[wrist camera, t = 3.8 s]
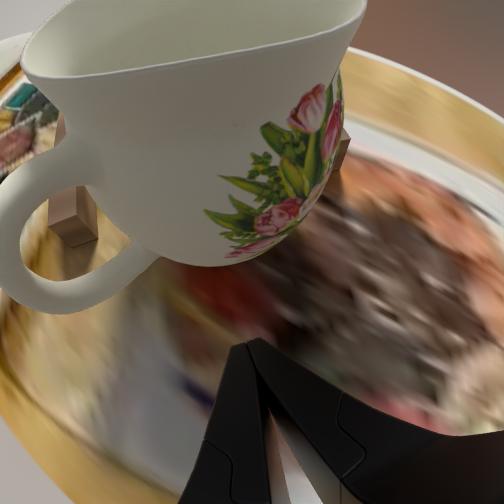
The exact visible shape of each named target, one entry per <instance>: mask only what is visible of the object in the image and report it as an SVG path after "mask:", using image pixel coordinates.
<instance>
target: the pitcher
mask: <svg viewBox="0 0 504 504" xmlns="http://www.w3.org/2000/svg"><path fill="white" fill-rule="evenodd" d="M366 6H367V0H71V1H70V2H68V3H67V4H65V5H64V6H62V7H61V8H60V9H58V10H57V11H56V12H54V13H53V14H52V15H51V16H50V17H49V18H47V19H46V20H45V21H44V22H43V23H42V24H41V25H40V26H39V27H38V28H37V29H36V30H35V32H34V33H33V34H32V35H31V37H30V38H29V39H28V41H27V42H26V44H25V46H24V48H23V50H22V53H21V56H20V65H21V68H22V70H23V72H24V74H25V75H26V77H27V78H28V80H29V81H30V82H31V83H32V84H33V85H34V86H36V87H37V88H38V89H39V90H40V91H41V92H42V93H43V94H44V95H45V96H46V97H47V98H48V99H49V100H50V101H51V102H52V104H53V105H54V106H55V107H56V108H57V109H58V110H59V111H60V112H61V113H62V115H63V116H64V119H65V128H66V135H65V137H64V138H63V139H62V140H61V142H60V143H59V144H58V145H56V146H55V147H54V148H52V149H50V150H48V151H46V152H44V153H41V154H39V155H37V156H35V157H33V158H32V159H30V160H28V161H27V162H25V163H24V164H22V165H21V166H19V167H18V168H17V169H16V170H15V171H14V172H12V173H11V174H10V175H9V176H8V177H7V178H6V179H5V180H4V181H3V183H2V184H1V185H0V286H1V288H2V289H3V291H4V292H5V293H7V294H8V295H9V296H10V297H12V298H13V299H14V300H15V301H17V302H18V303H20V304H22V305H24V306H26V307H28V308H30V309H32V310H36V311H40V312H44V313H48V314H71V313H76V312H80V311H83V310H85V309H88V308H90V307H93V306H95V305H97V304H99V303H101V302H103V301H105V300H106V299H108V298H110V297H111V296H113V295H115V294H116V293H117V292H119V291H120V290H122V289H123V288H124V287H126V286H127V285H128V284H129V283H131V282H132V281H133V280H134V279H135V278H136V277H138V276H139V275H140V274H141V273H142V272H143V271H144V270H146V269H147V268H148V267H149V266H150V265H151V264H152V263H153V262H154V261H155V260H156V259H158V258H159V257H161V256H163V257H166V258H169V259H171V260H174V261H176V262H180V263H185V264H189V265H194V266H206V267H213V266H226V265H231V264H236V263H240V262H243V261H246V260H249V259H252V258H254V257H256V256H258V255H261V254H263V253H264V252H266V251H267V250H269V249H271V248H272V247H274V246H275V245H277V244H278V243H279V242H281V241H282V240H283V239H284V238H286V237H287V236H288V235H289V234H290V233H291V232H292V231H293V230H294V229H295V228H296V227H297V226H298V225H299V224H300V223H301V222H302V220H303V219H304V218H305V217H306V216H307V214H308V213H309V212H310V210H311V209H312V207H313V206H314V204H315V203H316V201H317V200H318V198H319V197H320V195H321V193H322V191H323V189H324V187H325V185H326V183H327V181H328V178H329V176H330V174H331V172H332V169H333V167H334V164H335V161H336V158H337V154H338V150H339V146H340V142H341V137H342V132H343V122H344V94H343V83H342V77H341V72H340V64H341V61H342V59H343V57H344V55H345V52H346V50H347V48H348V46H349V44H350V42H351V40H352V38H353V36H354V35H355V33H356V31H357V29H358V27H359V25H360V23H361V21H362V19H363V16H364V14H365V11H366ZM74 186H85V187H86V189H87V191H88V192H89V194H90V196H91V197H92V199H93V200H94V202H95V203H96V204H97V205H98V207H99V208H100V209H101V210H102V211H103V213H104V214H105V215H106V216H107V217H108V218H109V219H110V220H111V221H112V222H113V223H114V224H115V225H116V226H117V227H118V228H119V229H120V230H121V231H122V232H124V233H125V234H126V235H128V236H129V237H130V238H132V239H133V240H132V242H131V243H130V244H129V245H128V246H127V247H126V248H125V249H124V250H123V251H122V252H121V253H119V254H118V255H117V256H116V257H114V258H113V259H112V260H110V261H109V262H107V263H106V264H104V265H103V266H101V267H99V268H98V269H96V270H93V271H91V272H89V273H87V274H85V275H83V276H80V277H78V278H75V279H72V280H68V281H61V282H56V281H50V280H47V279H45V278H42V277H39V276H38V275H36V274H35V273H33V272H32V271H30V270H29V269H28V268H27V267H26V266H25V265H24V263H23V261H22V258H21V254H20V236H21V232H22V229H23V227H24V225H25V223H26V221H27V220H28V218H29V217H30V216H31V214H32V213H33V212H34V211H35V210H36V209H37V208H38V207H39V206H40V205H41V204H42V203H43V202H44V201H46V200H47V199H49V198H50V197H51V196H53V195H55V194H56V193H58V192H60V191H62V190H64V189H66V188H68V187H74Z"/></svg>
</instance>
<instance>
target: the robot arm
mask: <svg viewBox="0 0 504 504" xmlns="http://www.w3.org/2000/svg"><path fill="white" fill-rule="evenodd" d="M268 407H269V408H268ZM269 410H270V411H269ZM270 412H271V414H272V416H273V418H274V420H275V422H276V424H277V426H278V427H279V429H280V431H281V433H282V435H283V436H284V438H285V440H286V442H287V443H288V445H289V447H290V449H291V450H292V452H293V454H294V456H295V457H296V459H297V461H298V462H299V464H300V466H301V468H302V469H303V471H304V473H305V474H306V476H307V478H308V479H309V481H310V483H311V484H312V486H313V488H314V489H315V491H316V493H317V494H318V496H319V497H320V499H321V501H322V502H323V504H504V430H503V431H497V432H490V433H484V434H476V435H468V436H450V435H444V434H439V433H436V432H433V431H430V430H427V429H424V428H422V427H419V426H416V425H414V424H411V423H408V422H406V421H403V420H401V419H398V418H396V417H393V416H391V415H388V414H386V413H384V412H381V411H379V410H377V409H375V408H373V407H371V406H369V405H367V404H365V403H363V402H361V401H360V400H358V399H356V398H354V397H353V396H351V395H349V394H348V393H346V392H345V393H344V391H343V390H341V389H339V388H338V387H336V386H334V385H333V384H331V383H330V382H328V381H326V380H325V379H323V378H322V377H320V376H318V375H317V374H315V373H314V372H312V371H311V370H309V369H307V368H306V367H304V366H303V365H301V364H300V363H298V362H297V361H295V360H293V359H292V358H290V357H289V356H287V355H286V354H284V353H283V352H281V351H280V350H278V349H277V348H275V347H274V346H272V345H271V344H269V343H268V342H266V341H265V340H263V339H262V338H256V339H253V340H250V341H247V343H240V344H237V345H234V346H232V347H231V348H230V351H229V355H228V358H227V361H226V365H225V368H224V372H223V375H222V378H221V382H220V385H219V388H218V392H217V395H216V398H215V402H214V405H213V409H212V412H211V415H210V419H209V422H208V425H207V429H206V432H205V435H204V440H203V441H202V445H201V448H200V451H199V454H198V457H197V460H196V463H195V466H194V469H193V471H192V474H191V476H190V478H189V480H188V483H187V485H186V487H185V489H184V491H183V493H182V496H181V498H180V500H179V502H178V504H291V503H290V498H289V494H288V490H287V485H286V481H285V476H284V472H283V468H282V463H281V459H280V454H279V450H278V445H277V441H276V436H275V432H274V427H273V423H272V418H271V414H270Z"/></svg>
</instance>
